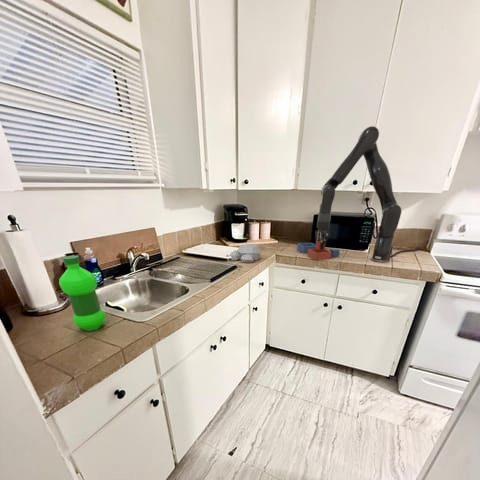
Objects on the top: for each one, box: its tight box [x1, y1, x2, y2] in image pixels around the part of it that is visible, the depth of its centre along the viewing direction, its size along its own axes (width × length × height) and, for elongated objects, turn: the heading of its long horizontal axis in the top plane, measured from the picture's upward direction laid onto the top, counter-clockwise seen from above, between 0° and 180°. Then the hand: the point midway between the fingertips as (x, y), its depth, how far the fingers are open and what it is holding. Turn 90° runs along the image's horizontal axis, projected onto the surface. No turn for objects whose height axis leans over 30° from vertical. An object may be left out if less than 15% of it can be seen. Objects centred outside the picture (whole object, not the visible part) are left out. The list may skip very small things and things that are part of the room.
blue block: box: [329, 248, 340, 258], centre depth 174 cm, size 4×4×4 cm
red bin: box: [306, 248, 332, 261], centre depth 172 cm, size 11×11×4 cm
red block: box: [315, 240, 326, 249], centre depth 170 cm, size 4×4×4 cm
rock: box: [228, 243, 262, 263], centre depth 168 cm, size 18×20×10 cm
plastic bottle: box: [58, 254, 107, 332], centre depth 86 cm, size 10×10×25 cm
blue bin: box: [296, 242, 317, 254], centre depth 188 cm, size 11×11×4 cm
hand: (319, 247), depth 171 cm, fingers closed on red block, 4 cm apart
